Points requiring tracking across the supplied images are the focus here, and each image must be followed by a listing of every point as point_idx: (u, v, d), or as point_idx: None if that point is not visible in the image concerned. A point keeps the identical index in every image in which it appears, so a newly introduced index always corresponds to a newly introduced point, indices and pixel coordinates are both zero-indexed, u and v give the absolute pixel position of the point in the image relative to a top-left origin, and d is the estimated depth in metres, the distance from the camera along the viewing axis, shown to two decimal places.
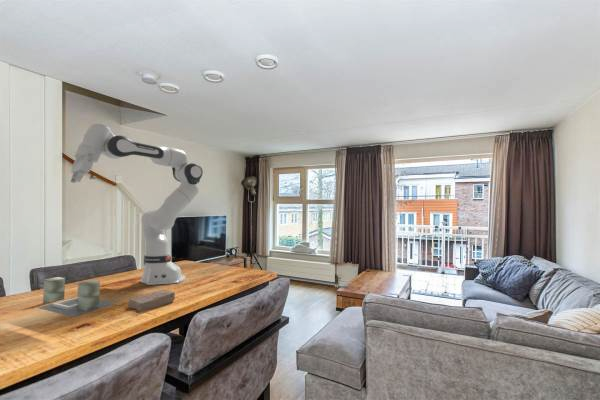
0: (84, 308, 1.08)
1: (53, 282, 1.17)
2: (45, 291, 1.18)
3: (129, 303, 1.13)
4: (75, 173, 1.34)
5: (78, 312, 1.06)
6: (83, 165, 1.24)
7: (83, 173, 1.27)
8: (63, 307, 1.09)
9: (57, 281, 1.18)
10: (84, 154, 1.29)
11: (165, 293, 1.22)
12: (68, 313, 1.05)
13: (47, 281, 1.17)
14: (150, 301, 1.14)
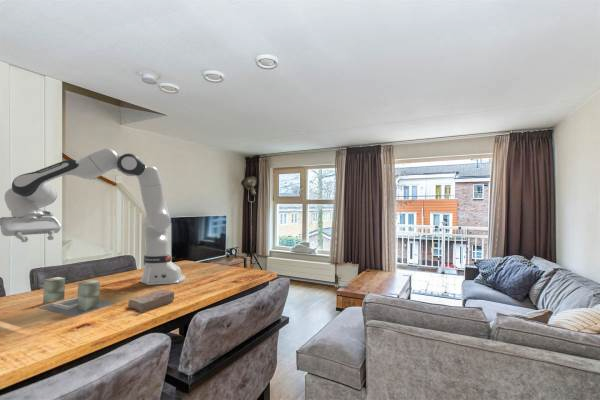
0: (84, 308, 1.08)
1: (53, 282, 1.17)
2: (45, 291, 1.18)
3: (129, 303, 1.13)
4: (48, 232, 1.30)
5: (78, 312, 1.06)
6: (1, 231, 1.17)
7: (16, 233, 1.19)
8: (63, 307, 1.09)
9: (57, 281, 1.18)
10: None
11: (165, 293, 1.23)
12: (68, 313, 1.05)
13: (47, 281, 1.17)
14: (151, 301, 1.14)
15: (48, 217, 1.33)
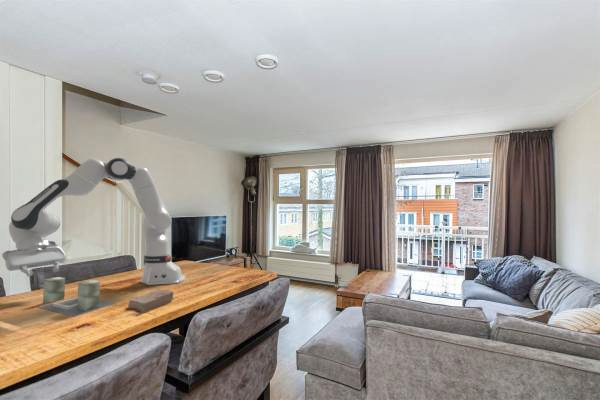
0: (84, 308, 1.08)
1: (53, 282, 1.17)
2: (45, 291, 1.18)
3: (130, 304, 1.12)
4: (53, 263, 1.28)
5: (78, 312, 1.06)
6: (6, 266, 1.15)
7: (21, 267, 1.17)
8: (63, 307, 1.09)
9: (57, 281, 1.18)
10: None
11: (164, 293, 1.23)
12: (68, 313, 1.05)
13: (47, 281, 1.17)
14: (152, 301, 1.15)
15: (53, 248, 1.31)
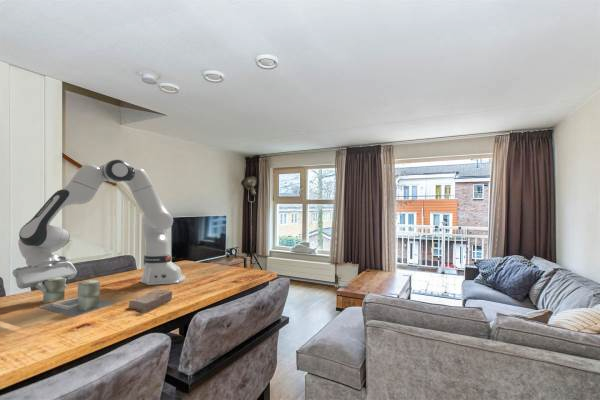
0: (84, 308, 1.08)
1: (53, 282, 1.17)
2: None
3: (130, 304, 1.12)
4: None
5: (78, 312, 1.06)
6: (17, 284, 1.12)
7: (37, 284, 1.16)
8: (63, 307, 1.09)
9: (57, 281, 1.18)
10: None
11: (163, 292, 1.23)
12: (68, 313, 1.05)
13: (47, 281, 1.17)
14: (153, 301, 1.15)
15: (63, 263, 1.27)
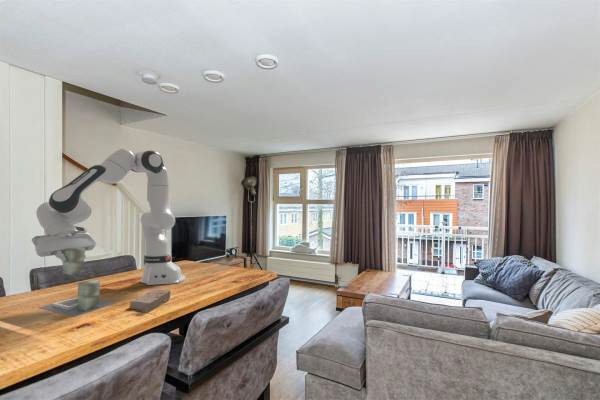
0: (84, 308, 1.08)
1: (73, 251, 1.13)
2: None
3: (132, 305, 1.11)
4: None
5: (78, 312, 1.06)
6: None
7: (57, 253, 1.12)
8: (63, 307, 1.09)
9: (77, 250, 1.14)
10: None
11: (162, 292, 1.24)
12: (68, 313, 1.05)
13: (67, 250, 1.13)
14: (155, 300, 1.15)
15: (82, 234, 1.23)
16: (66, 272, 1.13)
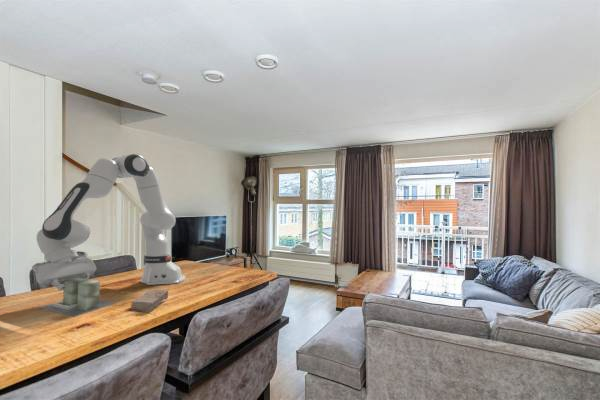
0: (84, 308, 1.08)
1: (73, 283, 1.12)
2: (65, 292, 1.13)
3: (133, 305, 1.11)
4: (83, 275, 1.21)
5: (78, 312, 1.06)
6: (37, 280, 1.07)
7: (53, 281, 1.09)
8: (63, 307, 1.09)
9: (77, 282, 1.14)
10: None
11: (160, 292, 1.24)
12: (68, 313, 1.05)
13: (67, 282, 1.13)
14: (156, 300, 1.16)
15: (83, 258, 1.23)
16: (66, 304, 1.12)
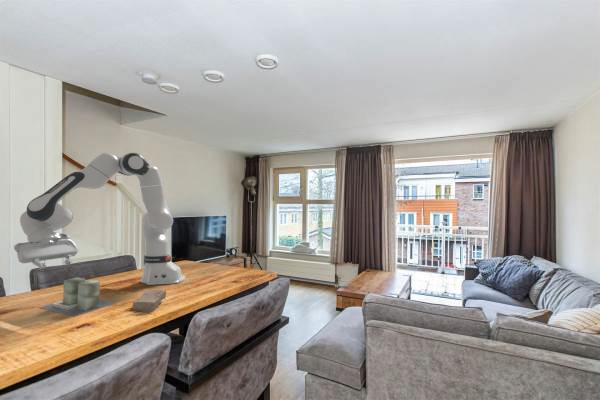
0: (84, 308, 1.08)
1: (73, 283, 1.12)
2: (65, 292, 1.13)
3: (135, 306, 1.11)
4: (65, 256, 1.26)
5: (78, 312, 1.06)
6: None
7: (34, 260, 1.14)
8: (63, 307, 1.09)
9: (77, 282, 1.14)
10: None
11: (159, 292, 1.24)
12: (68, 313, 1.05)
13: (67, 282, 1.13)
14: (157, 299, 1.16)
15: (65, 240, 1.28)
16: (66, 304, 1.12)
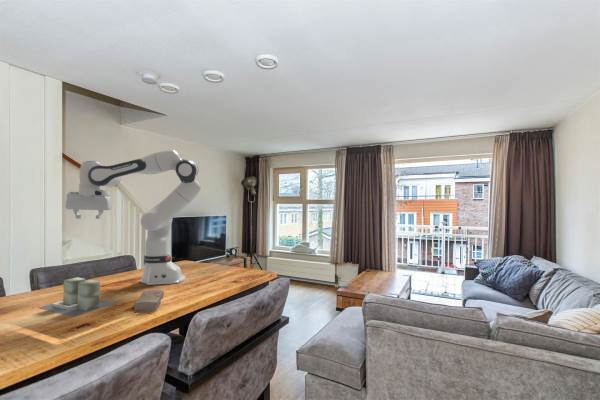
0: (84, 308, 1.08)
1: (73, 283, 1.12)
2: (65, 292, 1.13)
3: (137, 306, 1.10)
4: None
5: (78, 312, 1.06)
6: None
7: None
8: (63, 307, 1.09)
9: (77, 282, 1.14)
10: None
11: (157, 292, 1.24)
12: (68, 313, 1.05)
13: (67, 282, 1.13)
14: (158, 299, 1.17)
15: (99, 197, 1.46)
16: (66, 304, 1.12)
